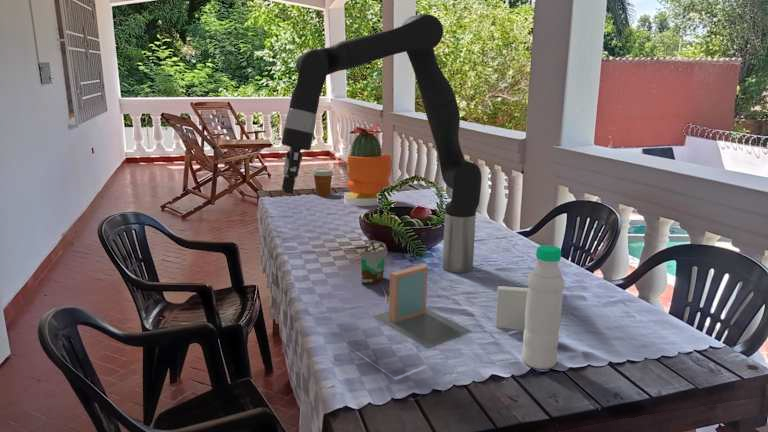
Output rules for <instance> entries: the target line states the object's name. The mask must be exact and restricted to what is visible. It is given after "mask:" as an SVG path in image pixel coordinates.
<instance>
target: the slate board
mask: <svg viewBox="0 0 768 432" xmlns="http://www.w3.org/2000/svg"><path fill="white" fill-rule="evenodd" d="M372 318H374V319H376V320H377V321H379V322H381V323H383V324H384V325H386V326H388V328H391V329H393V330H394V331H397V332H398V333H400V334H401V335H404V336H405V337H407V338H408V339H411V340H412V341H414V342H415V343H417V344H419V345H420V346H422V347H423V348H426V349H429V348H432V347H434V346H438V345H441V344H443V343H445V342H448V341H451V340H454V339H456V338H460V337H461V336H464V335H467V334H470V333H473V330H471V329H468V328H467V327H464V326H463V325H461V324H459V323H457V322H454V321H453V320H451V319H449V318H447V317H445V316H443V315H441V314H439V313H437V312H435V311H433V310H431V309H429V308H427V307H426V313H424V314H421V315H418V316H414V317H411V318H408V319H405V320H402V321H399V322H396V323H393V322H392V321H390V320H389V311H386V312H382V313H379V314H375V315H372Z"/></svg>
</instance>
